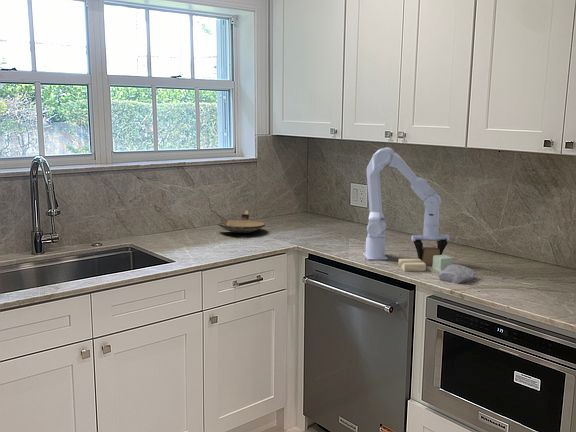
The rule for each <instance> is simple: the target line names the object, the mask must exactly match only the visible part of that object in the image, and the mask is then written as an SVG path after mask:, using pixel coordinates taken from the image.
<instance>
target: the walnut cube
mask: <svg viewBox="0 0 576 432" xmlns="http://www.w3.org/2000/svg"><path fill="white" fill-rule="evenodd" d="M434 255H440V250H439V249H437V247H436V246H423V247H422V258H421V259H420V260H421V261H423V262H424V263H425V264H426V266H433V256H434Z"/></svg>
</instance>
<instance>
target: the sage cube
mask: <svg viewBox="0 0 576 432" xmlns="http://www.w3.org/2000/svg"><path fill="white" fill-rule="evenodd" d="M452 264H453V257H451V256H449V255H446V254H442V255H434V256H433V265H432V269H433V270H435V271H437V272H440V270H445V269H446V267H448V266H449V265H452Z"/></svg>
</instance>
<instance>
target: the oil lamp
mask: <svg viewBox="0 0 576 432" xmlns="http://www.w3.org/2000/svg"><path fill="white" fill-rule="evenodd" d="M249 216H250V214H249V210H245V211H244V213H241V219H235V220H234V219H230V220H229V219H227V220H225V221H224V222H223V224H221V223H219V222H217V226H219V227H220V228H222V229H224V230H225V231H228V232H231V233H235V234H250V233H254V232H256V231H258V230H261V229H262V228H264V227H266V223H264V222H261V221H257V220H249Z"/></svg>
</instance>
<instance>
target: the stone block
mask: <svg viewBox="0 0 576 432" xmlns="http://www.w3.org/2000/svg"><path fill="white" fill-rule="evenodd" d="M438 274H439V275H438V277H439V278H438V279H439V280H440V281H442V280H443V281H444V282H449V283H453V284H458V285H459V284H463V283H468V282H471V281H474V278H475V276H476V271H474V270H473V269H472V268H470V267H467V266H465V265H462V264H455V263H452V265H449V266H448V267H446V269H445V270H440V271H439V273H438Z"/></svg>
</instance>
